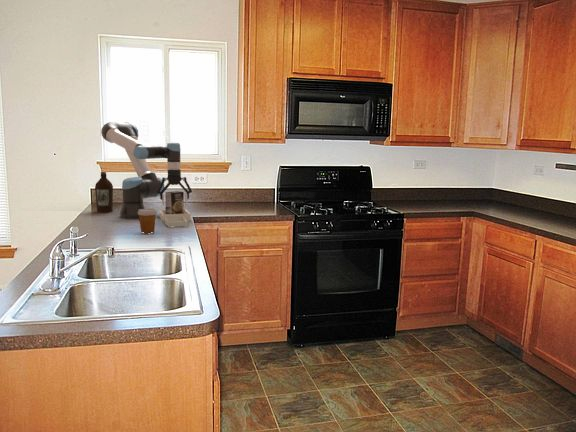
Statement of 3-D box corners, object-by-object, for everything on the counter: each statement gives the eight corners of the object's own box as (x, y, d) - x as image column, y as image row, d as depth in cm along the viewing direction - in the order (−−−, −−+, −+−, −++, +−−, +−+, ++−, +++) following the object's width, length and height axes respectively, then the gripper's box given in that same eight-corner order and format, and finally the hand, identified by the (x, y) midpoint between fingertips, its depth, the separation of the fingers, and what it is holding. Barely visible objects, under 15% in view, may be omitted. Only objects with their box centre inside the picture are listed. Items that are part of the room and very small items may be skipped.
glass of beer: (150, 230, 262) (149, 207, 260) (161, 233, 256) (160, 210, 254) (134, 232, 254) (133, 209, 252) (145, 235, 249) (144, 212, 246)
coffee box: (172, 220, 291) (171, 193, 288) (165, 218, 295) (164, 191, 292) (184, 218, 298) (184, 191, 296) (177, 216, 302) (176, 190, 299)
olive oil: (98, 210, 319) (96, 171, 315) (115, 210, 320) (113, 171, 316) (94, 212, 309) (92, 172, 304) (111, 212, 310) (110, 172, 306)
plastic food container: (162, 221, 286) (162, 214, 285) (159, 216, 302) (159, 210, 301) (190, 220, 292) (190, 213, 291) (185, 215, 307) (185, 209, 307)
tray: (167, 227, 270) (167, 222, 269) (164, 222, 283) (164, 217, 282) (188, 226, 274) (187, 221, 273) (184, 222, 286) (183, 216, 286)
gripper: (152, 169, 284) (153, 206, 287) (196, 169, 293) (196, 204, 296) (151, 168, 291) (152, 204, 294) (194, 168, 299) (194, 203, 303)
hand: (174, 204), depth 295 cm, fingers open, 13 cm apart
